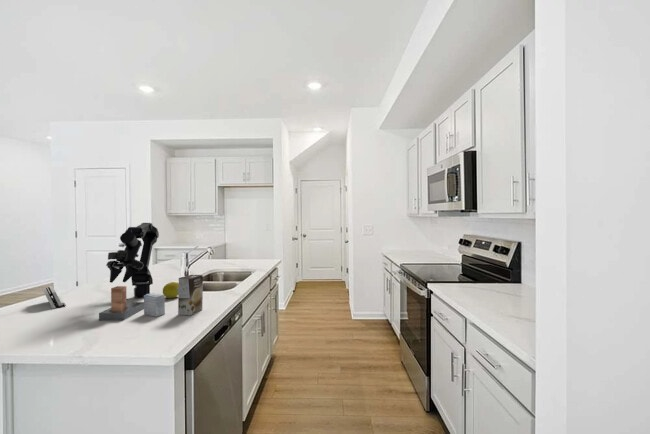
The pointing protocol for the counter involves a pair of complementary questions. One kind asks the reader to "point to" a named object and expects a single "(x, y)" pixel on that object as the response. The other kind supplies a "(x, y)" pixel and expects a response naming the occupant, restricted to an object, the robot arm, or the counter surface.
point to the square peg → (118, 298)
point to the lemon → (171, 290)
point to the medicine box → (154, 304)
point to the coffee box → (190, 294)
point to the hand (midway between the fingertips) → (117, 282)
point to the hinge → (55, 297)
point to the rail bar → (122, 312)
